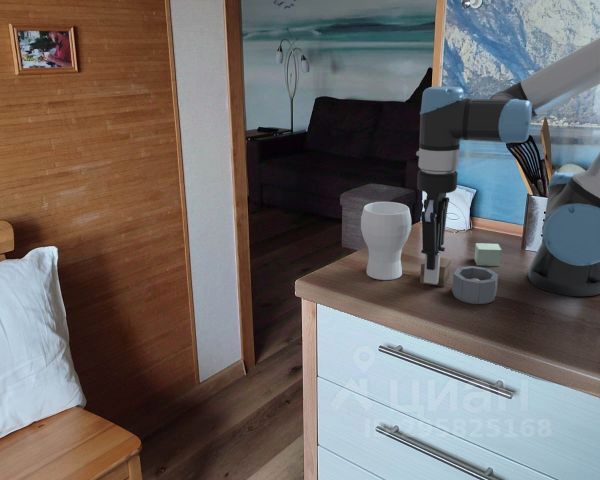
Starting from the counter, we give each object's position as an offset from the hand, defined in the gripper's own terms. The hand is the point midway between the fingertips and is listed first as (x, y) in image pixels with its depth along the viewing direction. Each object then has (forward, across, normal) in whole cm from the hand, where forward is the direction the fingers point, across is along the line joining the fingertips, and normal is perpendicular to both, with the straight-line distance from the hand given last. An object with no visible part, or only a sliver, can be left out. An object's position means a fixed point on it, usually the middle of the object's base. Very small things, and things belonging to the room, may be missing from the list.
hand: (431, 281), depth 119 cm
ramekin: (+1, 0, +9) cm, 9 cm away
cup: (+1, -3, -11) cm, 12 cm away
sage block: (+2, -19, +8) cm, 20 cm away
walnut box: (+1, -4, 0) cm, 4 cm away
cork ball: (-1, 0, +9) cm, 9 cm away
